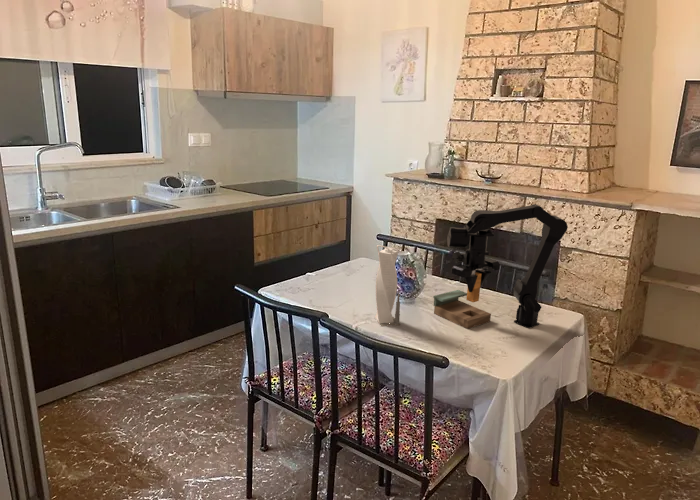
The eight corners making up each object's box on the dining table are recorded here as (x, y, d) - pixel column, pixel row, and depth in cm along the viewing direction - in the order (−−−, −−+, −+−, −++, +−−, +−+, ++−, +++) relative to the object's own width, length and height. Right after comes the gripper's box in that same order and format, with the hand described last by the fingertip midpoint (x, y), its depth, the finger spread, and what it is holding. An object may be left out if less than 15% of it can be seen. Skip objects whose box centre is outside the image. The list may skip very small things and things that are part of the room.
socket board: (491, 321, 187) (493, 303, 185) (466, 329, 179) (468, 310, 177) (456, 306, 199) (458, 289, 198) (432, 313, 192) (433, 295, 190)
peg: (478, 300, 184) (481, 273, 181) (472, 302, 182) (475, 275, 179) (472, 298, 186) (474, 271, 183) (466, 299, 184) (469, 272, 181)
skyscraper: (377, 327, 179) (381, 248, 171) (369, 318, 186) (373, 242, 179) (400, 325, 181) (405, 247, 173) (392, 316, 188) (396, 241, 181)
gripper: (477, 239, 190) (473, 280, 194) (441, 246, 180) (437, 289, 184) (502, 246, 182) (498, 289, 186) (466, 253, 171) (461, 298, 175)
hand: (473, 291), depth 183 cm, fingers closed on peg, 3 cm apart
